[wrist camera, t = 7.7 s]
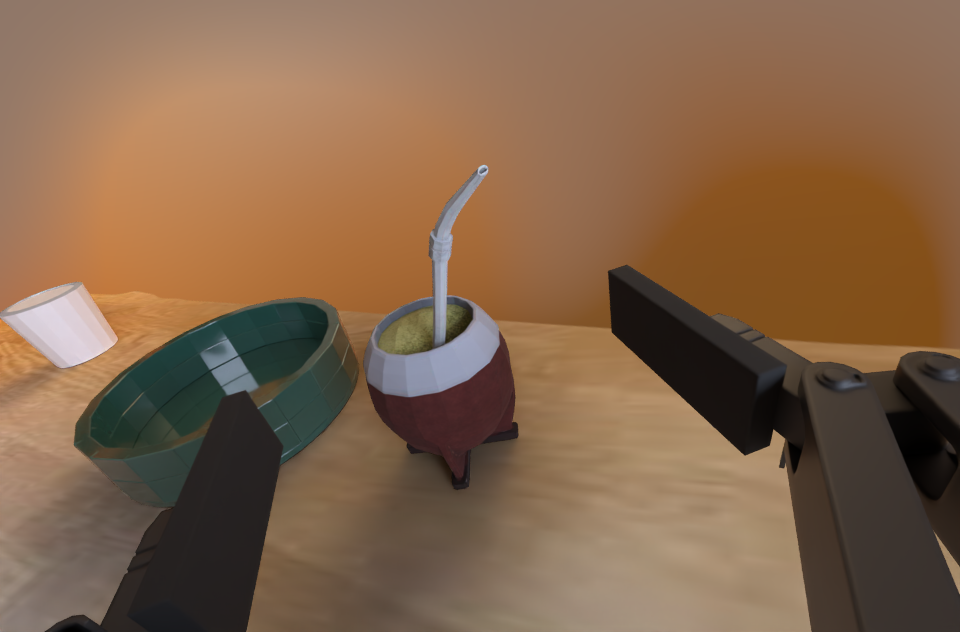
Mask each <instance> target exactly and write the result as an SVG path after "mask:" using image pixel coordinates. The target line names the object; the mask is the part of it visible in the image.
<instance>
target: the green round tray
mask: <svg viewBox="0 0 960 632" xmlns="http://www.w3.org/2000/svg"><path fill="white" fill-rule="evenodd" d="M358 374H359V363H358V358H357V355H356V353H355V350H354V347H353V345H352V342H351V340H350V338H349V336H348V334H347V331H346V329H345V327H344V325H343V323H342V321H341V318H340V316H339V314H338V312H337V310H336V309H335V308H334V307H333V306H331V305H330V304H328V303H327V302H325V301H324V300H319V299H312V298H305V297H300V298H288V299H279V300H272V301H269V302H264V303H260V304H256V305H251V306H248V307H245V308H242V309H239V310H236V311H233V312H231V313H228V314H225V315H222V316H219V317H217V318H214V319H212V320H210V321H208V322H206V323H204V324H201V325H199V326H197V327H195V328H193V329H191V330H189V331H186V332H184V333H183V334H181V335H179V336H177V337H175V338H174V339H172V340H170V341H168V342H167V343H165V344H163V345H162V346H160V347H158V348H156V349H155V350H153V351H151V352H150V353H148V354H146V355H145V356H144V357H142V358H141V359H139V360H138V361H137V362H135V363H134V364H133V365H131V366H130V367H128V368H127V369H126V370H124V371H123V372H121V373H120V374H119V375H118V376H117V377H116V378H115V379H114V380H113V381H112V382H110V383H109V384H108V385H107V386H106V387H105V388H104V389H103V390H102V391H101V392H100V393H99V394H98V395H97V396H96V397H95V398H94V399H93V400H92V401H91V402H90V403H89V405H88V406H87V408H86V409H85V411H84V412H83V414H82V415H81V417H80V418H79V420H78V421H77V423H76V427H75V437H74V446H75V447H76V448H77V449H78V450H79V451H80V452H81V453H82V454H83V455H84V456H85V457H86V458H87V459H88V460H89V461H90V462H91V463H92V464H93V465H95V466H96V467H97V468H98V469H99V470H100V471H101V472H102V473H103V474H104V475H105V476H106V477H107V478H108V479H109V480H110V481H111V482H112V483H113V484H114V485H116V486H117V487H118V488H119V489H120V490H121V491H123V492H124V493H125V494H126V495H127V496H128V497H129V498H131V499H132V500H133V501H136V502H138V503H140V504H143V505H148V506H153V507H174V506H175V504H176V501H177V499H178V497H179V495H180V492H181V490H182V488H183V485H184V483H185V481H186V479H187V476H188V474H189V472H190V469H191V467H192V465H193V463H194V460H195V458H196V456H197V453H198V451H199V449H200V447H201V444H202V442H203V440H204V437H205V435H206V433H207V431H208V428H209V426H210V424H211V422H212V419H213V417H214V415H215V412H216V410H217V408H218V406H219V403H220V401H221V399H222V397H225V396H228V395H231V394H234V393H237V392H240V391H243V390H246V391H247V392H248V394H249V395H250V397H251V398H252V400H253V401H254V403H255V404H256V406H257V407H258V409H259V410H260V412H261V413H262V415H263V416H264V418H265V419H266V421H267V422H268V424H269V425H270V427H271V428H272V430H273V431H274V433H275V434H276V436H277V437H278V439H279V440H280V442H281V443H282V445H283V446H284V447H283V452H282V457H281V462H280V465H281V464H283V463H284V462H286V461H287V460H288V459H290V458H291V457H293V456H294V455H295V454H297V453H298V452H299V451H301V450H302V449H303V448H304V447H306V446H307V445H308V444H309V443H310V442H312V441H313V440H314V439H315V438H316V437H317V436H318V435H319V434H320V433H321V432H322V431H323V430H324V429H326V428H327V426H328V425H329V424H330V423H331V422H332V421H333V420H334V419H335V417H336V416H337V415H338V414H339V412H340V411H341V410H342V408H343V407H344V406H345V404H346V403H347V401H348V399H349V397H350V396H351V394H352V392H353V390H354V387H355V385H356V383H357V378H358Z"/></svg>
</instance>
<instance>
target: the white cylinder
mask: <svg viewBox="0 0 960 632" xmlns="http://www.w3.org/2000/svg"><path fill="white" fill-rule="evenodd" d="M0 318H1V319H2V320H3V321H4V322H5V323H7V324H8V325H9V326H10V327H11V328H12V329H14V330H15V331H16V332H17V333H18V334H19V335H21V336H22V337H23V338H24V339H25V340H26V341H28V342H29V343H30V344H31V345H32V346H33V347H35V348H36V349H37V350H38V351H39V352H40V353H42V354H43V355H44V356H45V357H46V358H48V359H49V360H50V361H51V362H52V363H53V364H55V365H56V366H57V367H59V368H68V367H72V366H75V365H78V364H81V363H84V362H86V361H88V360H90V359H93V358H95V357H97V356H98V355H100V354H102V353H104V352H105V351H107V350H108V349H110V348H111V347H112V346H113V345H115V343H116V342H117V341H118V338H117V336H116V334H115V333H114V331H113V330H112V328H111V327H110V325H109V324H108V322H107V321H106V319H105V317H104V316H103V314H102V313H101V311H100V310H99V308H98V307H97V305H96V304H95V302H94V300H93V299H92V297H91V296H90V294H89V293H88V291H87V290H86V288H85V287H84V285H83V283H82V282H74V283H69V284H64V285H61V286H58V287H54V288H51V289H48V290H45V291H42V292H40V293H37V294H35V295H32V296H30V297H28V298H25V299H23V300H21V301H19V302H17V303H15V304H13V305H11V306H9V307H8V308H6V309H5V310H3V311H2V312H0Z"/></svg>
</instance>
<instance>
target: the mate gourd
mask: <svg viewBox="0 0 960 632" xmlns="http://www.w3.org/2000/svg"><path fill="white" fill-rule="evenodd" d="M487 173H488V167H487V166H486V165H482V166H480V167H479V168H478V169H477V170H476V171H475V172H474V173H473V174H472V176H471V177H470V178H469V179H468V180H467V181H466V182H465V183H464V184H463V185H462V187H461V188H460V189H459V190H458V191H457V192H456V193H455V194H454V195H453V197H452V198H451V199H450V200H449V201H448V202H447V203H446V205H445V207H444V209H443V211H442V213H441V215H440V217H439V219H438V221H437V223H436V225H435V229H433V230H432V232H431V234H430V240H429V244H430V245H429V257H430V258H431V259H432V275H433V276H432V277H433V297H428V298H423V299H419V300H416V301H413V302H411V303H408V304H406V305H403V306H401V307H399V308H398V309H396V310H394V311H393V312H391V313H390V314H388V315H386V316H385V317H384V318H383V319H382V320H381V321H380V322H379V323H378V324H377V325H376V326H375V328H374V329H373V332H372V334H371V337H370V339H369V342H368V345H367V348H366V351H365V356H364V361H363V366H364V370H365V374H366V381H367V385H368V389H369V392H370V396H371V399H372V402H373V404H374V407H375V410H376V411H377V413H378V415H379V416H380V418H381V419H382V421H383V422H384V423H385V424H386V425H387V426H388V427H389V428H390V429H391V430H392V431H393V432H394V433H396V434H397V435H398V436H400V437H401V438H402V439H403V440H405V441H406V442H407V448H408V450H409V451H410V453H411V454H413V453H422V452H429V453H433V454H436V455H440V456H443V457H444V459H445V461H446V462H447V464H448V465H449V467H450V468H451V470H452V485H453V487H454V489H457V490H459V489H466V488H467V487H469V480H470V453H471V449H472V448H474V447H476V446H477V445H479V444H483V443H490V442H496V441H503V440H509V439H514V438H517V437H518V424H517V423H516V422H512V420H513V413H514V407H515V388H514V379H513V375H512V370H511V365H510V357H509V351H508V348H507V345H506V342H505V339H504V338H503V336H502V334H501V333H500V331H499V328H498V325H497V324H496V323H495V322H494V321H493V320H492V319H491V318H490V316H489V315H488V314H487V313H486V312H485V311H483V310H482V309H481V308H480V307H479V306H478V305H476V304H475V303H473V302H472V301H470V300H467V299H464V298H461V297H457V296H447V261H448V260H449V258H450V256H451V247H452V246H451V245H452V239H453V236H452V235H451V233H450V231H451V227H452V225H453V223H454V221H455V219H456V217H457V215H458V213H459V212H460V210H461V209H462V207H463V206H464V204H465V203H466V202H467V200H468V199H469V197H470V196H471V195H472V193H473V192H474V190H475V189H476V188H477V186H478V185H479V184H480V182H481V181H482V180H483V178H484V177H485V175H486V174H487Z"/></svg>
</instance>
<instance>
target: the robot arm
mask: <svg viewBox="0 0 960 632" xmlns="http://www.w3.org/2000/svg"><path fill="white" fill-rule="evenodd" d="M608 276H609V294H610V311H611V328H612V333H613V334H614V335H615V336H616V337H617V338H618V339H620V340H621V341H622V342H623V343H624V344H625V345H626V346H627V347H628V348H629V349H630V350H631V351H632V352H634V353H635V354H636V355H637V356H638V357H639V358H640V359H641V360H642V361H643V362H644V363H645V364H646V365H648V366H649V367H650V368H651V369H652V370H653V371H654V372H655V373H656V374H657V375H658V376H659V377H661V378H662V379H663V380H664V381H665V382H666V383H667V384H668V385H669V386H670V387H671V388H672V389H673V390H675V391H676V392H677V393H678V394H679V395H680V396H681V397H682V398H683V399H684V400H685V401H686V402H687V403H689V404H690V405H691V406H692V407H693V408H694V409H695V410H696V411H697V412H698V413H699V414H700V415H702V416H703V417H704V418H705V419H706V420H707V421H708V422H709V423H710V424H711V425H712V426H713V427H714V428H716V429H717V430H718V431H719V432H720V433H721V434H722V435H723V436H724V437H725V438H726V439H727V440H728V441H730V442H731V443H732V444H733V445H734V446H735V447H736V448H737V449H738V450H739V451H740V452H741V453H743V454H744V455H748V454H750V453H753V452H755V451H758V450H760V449H762V448H765V447H767V446H770V442H771V438H772V433H773V429H774V430H775V431H776V432H778V433H779V434H780V435H781V436H783V437H784V438H785V443H784V447H783V451H782V455H781V460H780V465H779V468H784V467H785V463H786V466H787V473H788V479H789V486H790V492H791V499H792V506H793V512H794V519H795V525H796V532H797V538H798V545H799V551H800V558H801V564H802V571H803V578H804V584H805V591H806V597H807V604H808V610H809V617H810V623H811V630H812V632H960V594H959V592H958V589H957V587H956V585H955V582H954V580H953V577H952V575H951V572H950V570H949V568H948V565H947V563H946V560H945V558H944V555H943V553H942V551H941V548H940V546H939V543H938V541H937V539H936V536H935V534H934V532H935V533H936V534H937V536H938V537H939V539H940V540H941V541H942V543H943V544H944V546H945V547H946V548H947V550H948V551H949V552H950V554H951V555H952V557H953V558H954V559H955V561H956V562H957V563H958V565H959V566H960V359H959V358H956V357H954V356H951V355H947V354H942V353H937V352H926V351H918V352H911V353H907V354H906V355H904V356H902V357H901V359H900V361H899V364H898V366H897V369H896V370H893V371H882V372H872V373H862V372H860V371H859V370H857V369H855V368H852V367H849V366H847V365H844V364H839V363H833V362H816V363H812V362H810V361H808V360H807V359H805V358H803V357H801V356H800V355H798V354H796V353H795V352H793V351H791V350H790V349H788V348H786V347H784V346H783V345H781V344H779V343H778V342H776V341H774V340H773V339H771V338H769V337H765V335H764V334H762V333H761V332H759V331H757V330H753V328H752V327H750V326H749V325H747V324H745V323H744V322H742V321H740V320H738V319H736V318H733V317H729V316H726V315H723V314H716V315H713V316H708V315H706V314H705V313H703V312H701V311H700V310H698V309H697V308H695V307H693V306H692V305H690V304H689V303H687V302H686V301H684V300H682V299H681V298H679V297H678V296H676V295H674V294H673V293H671V292H670V291H668V290H666V289H665V288H663V287H662V286H660V285H658V284H657V283H655V282H653V281H652V280H650V279H649V278H647V277H646V276H644V275H642V274H641V273H639V272H638V271H636V270H634V269H633V268H631V267H630V266H628V265H625V266H622V267H619V268H616V269H613V270H610V271H608ZM283 447H284V446H283V445H282V443H281V442H280V440H279V439H278V437H277V436H276V434H275V433H274V431H273V430H272V428H271V427H270V425H269V424H268V422H267V421H266V419H265V418H264V416H263V415H262V413H261V412H260V410H259V409H258V407H257V406H256V404H255V403H254V401H253V400H252V398H251V397H250V395H249V394H248V392H247V391H246V390H243V391H240V392H237V393H234V394H231V395H228V396H225V397H222V399H221V401H220V403H219V406H218V408H217V410H216V412H215V415H214V417H213V419H212V422H211V424H210V426H209V428H208V431H207V433H206V435H205V437H204V440H203V442H202V444H201V447H200V449H199V451H198V453H197V456H196V458H195V460H194V463H193V465H192V467H191V469H190V472H189V474H188V476H187V479H186V481H185V483H184V485H183V488H182V490H181V492H180V495H179V497H178V499H177V501H176V504H175V506H174V507H173V508H170V509H167V510H165V511H162V512H161V513H160V514H159V515H158V517H157V518H156V519H155V520H154V522H153V523H152V524H151V525H150V527H149V528H148V529H147V530H146V532H145V533H144V535H143V538H142V540H141V542H140V544H139V546H138V548H137V550H136V552H135V553H136V556H134V557H133V558H132V560H131V563H130V565H129V567H128V569H127V570H128V573H126V574H125V575H124V577H123V579H122V581H121V583H120V585H119V588H118V590H117V592H116V594H115V596H114V598H113V600H112V602H111V604H110V606H109V608H108V611H107V613H106V615H105V617H104V619H103V621H102V623H101V625H98V624H97V623H95V622H94V621H93V620H91V619H90V618H88V617H87V616H85V615H76V616H71V617H69V618H67V619H64V620H62V621H60V622H58V623H56V624H55V625H53V626H52V627H51V628H49V629H48V630H46V631H45V632H246V630H247V625H248V620H249V615H250V610H251V605H252V600H253V595H254V590H255V585H256V580H257V576H258V571H259V566H260V561H261V556H262V551H263V546H264V541H265V536H266V531H267V526H268V521H269V516H270V511H271V506H272V501H273V496H274V492H275V487H276V482H277V477H278V472H279V467H280V462H281V457H282V452H283ZM933 530H934V531H933Z"/></svg>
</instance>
